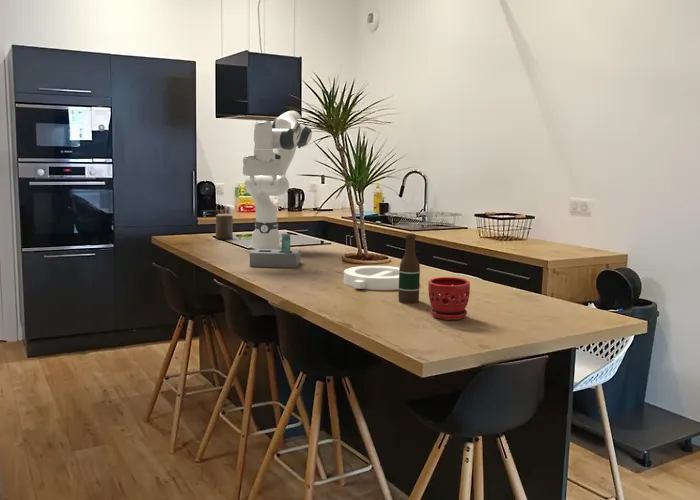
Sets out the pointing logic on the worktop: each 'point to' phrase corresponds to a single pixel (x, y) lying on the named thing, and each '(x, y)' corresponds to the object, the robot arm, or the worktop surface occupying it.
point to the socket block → (274, 258)
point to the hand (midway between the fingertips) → (263, 185)
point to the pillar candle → (224, 226)
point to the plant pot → (449, 297)
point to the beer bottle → (409, 273)
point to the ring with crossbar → (372, 277)
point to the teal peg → (285, 243)
